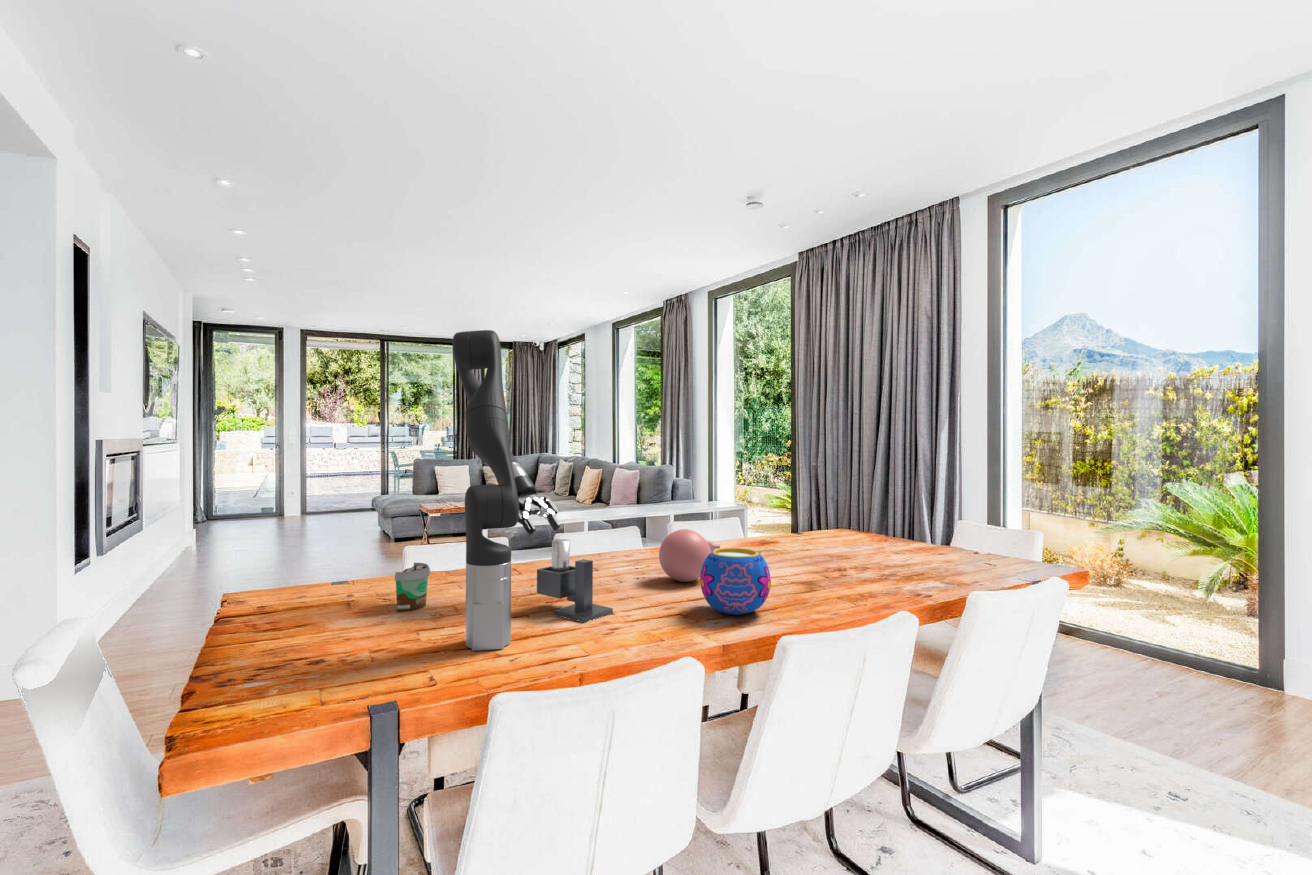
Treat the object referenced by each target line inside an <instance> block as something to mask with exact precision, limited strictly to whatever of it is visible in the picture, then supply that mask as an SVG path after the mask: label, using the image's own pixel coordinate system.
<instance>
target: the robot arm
mask: <svg viewBox="0 0 1312 875" xmlns="http://www.w3.org/2000/svg"><path fill="white" fill-rule="evenodd" d="M500 342H501V341H500V338H499V335H498V333H496V331H494V330H491V329H488V330H487V329H485V330H484V329H482V330H470V331H469V330H468V331H459V332H456V333H454V335H453V337H452V354H453V360H454V364H455V366H456V370H457V372H458V376H459V378H460V381H461V382H460V383H461V385H462V389H463V390H464V394H465V396H466V399H467V405H466V407H465V411H464V418H465V419H464V420H465V432H466V437H467V444H468V447H469V448H470V450H471V451H472V453H474V455H476V456H477V457H478V458H479V459H480V460H481V461H483V462H484V463H485V464H486V465H487V467H489V468H490V470H491V472H492V473H493V475H494V477H495V478H496V482H497V484H479V485H477V484H476V485H474V484H473V485H470V486H468V488H467V489H466V492H465V495H464V518H465V519H464V520H465V646H466V647H467V648H469V649H471V651H473V652H474V651H477V652H478V651H489V650H490V651H491V650H503V649H504V647H506V646H508V645H509V644H511V642H512V549H511V547H510V546H508V545H506V544H505V543H504V544H503V543H500V542H495V541H493V540H491V539H489V538H487V537H485V536H484V535H483V530H496V529H509V528H513V527H515V526H517V524H520V525H522V527H523V528H524V530H525V532H526V533H527V534H528V535H529V536H533V535H534V533H536V530H537V529H536V527H535V526H534V524H533V522H532V521H531V519H530V518H529V516H531V515H533V516H534V515H535V516H538V517H540V518H542V517H543V518H544V519H546V520H547V523H548V524H549V525H550V527H551V529H553V531H554V532H558V530H559V529H561V528H560V527H561V523H560V521H559V520H558V519H557V517H556V515H557V514H559V509H558V508H557V506H556V505H555V504H554V502H553V500H552V499H551V498H550V496H549V495H544V497H541V496H539V495H537V488H536V486H535V484H534V483H533V482H532V480H531V478H530V477H529V475H528V473H527V472H526V471H525V469H524V468H523V467H522V465H521V464H520V463H519V462H518V460H517V459H516V457H515V455H514V454H513V452H512V451H511V446H510V432H509V431H510V430H509V421H508V412H507V407H506V400H505V392H504V386H503V385H504V384H503V366H502V365H503V364H502V362H503V361H502V349H501V343H500ZM483 369H486V373H485V375H484V378H483V379H482V381H480V379H479V378H477V376H476V375H475V373H474V372H473V370H483Z"/></svg>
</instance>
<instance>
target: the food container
mask: <svg viewBox="0 0 1312 875" xmlns="http://www.w3.org/2000/svg"><path fill="white" fill-rule="evenodd" d="M430 568H431V567H430V566H429V564H427V563H423V562H413V565H412V567H410V568H406V569H404V570H403V571H395V575H394V581H395V592H396V612H397V613H403V612H404V613H406V612H412V611H413V610H414V611H417V609H418V610H421V609H424V608H425V607H426V606H427V595H428V585H429V584H428V581H429V577H430V576H431V574H432V573H431V569H430ZM423 607H424V608H423ZM420 608H421V609H420Z"/></svg>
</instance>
